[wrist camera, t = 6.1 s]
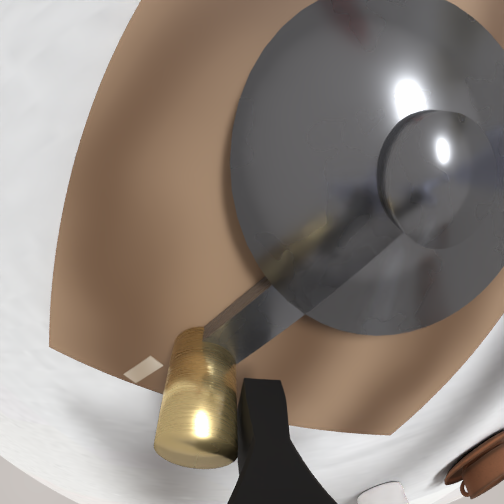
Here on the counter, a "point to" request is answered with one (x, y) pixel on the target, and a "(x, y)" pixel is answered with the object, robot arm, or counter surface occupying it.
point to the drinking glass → (384, 494)
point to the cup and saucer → (480, 468)
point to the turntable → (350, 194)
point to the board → (216, 230)
